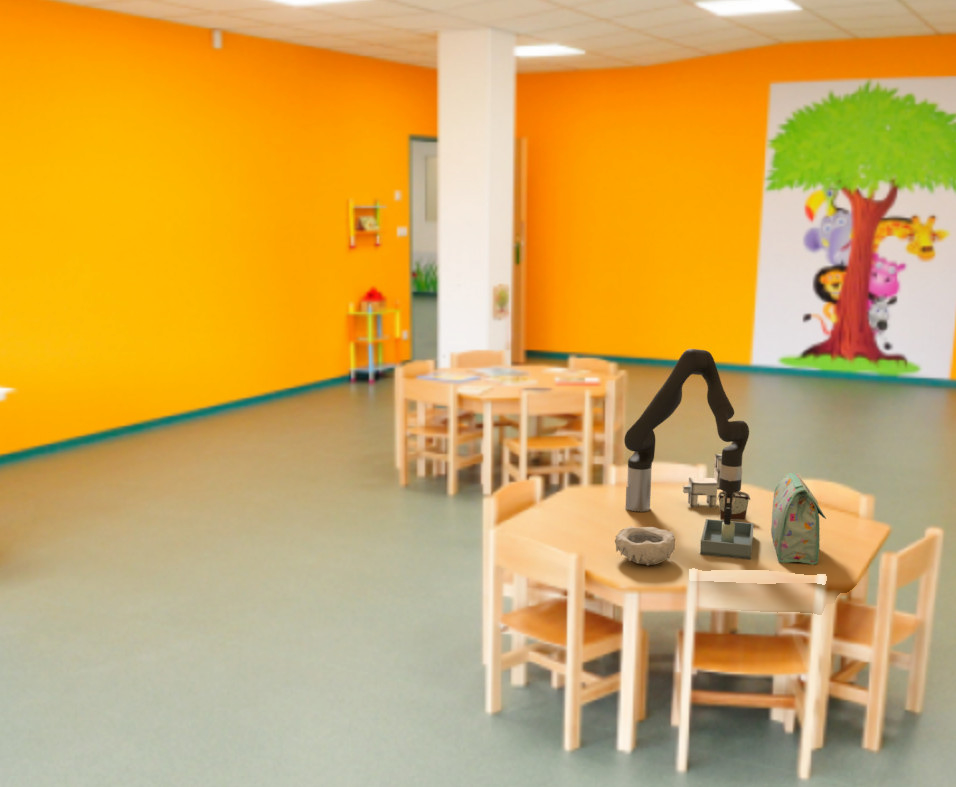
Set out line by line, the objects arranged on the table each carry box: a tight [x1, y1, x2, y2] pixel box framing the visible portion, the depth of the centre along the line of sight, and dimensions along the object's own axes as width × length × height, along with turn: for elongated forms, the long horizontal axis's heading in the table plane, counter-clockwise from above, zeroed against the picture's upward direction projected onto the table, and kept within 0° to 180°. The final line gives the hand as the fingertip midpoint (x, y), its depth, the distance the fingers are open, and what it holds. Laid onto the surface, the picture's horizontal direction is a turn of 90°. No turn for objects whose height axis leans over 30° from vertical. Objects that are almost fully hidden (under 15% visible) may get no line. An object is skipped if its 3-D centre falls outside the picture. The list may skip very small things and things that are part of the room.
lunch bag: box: [770, 472, 827, 566], centre depth 347 cm, size 23×16×27 cm
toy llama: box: [682, 453, 722, 508], centre depth 400 cm, size 8×18×20 cm, turn 88°
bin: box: [699, 518, 754, 560], centre depth 356 cm, size 17×24×5 cm
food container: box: [717, 490, 751, 521], centre depth 386 cm, size 12×6×10 cm, turn 84°
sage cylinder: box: [721, 522, 735, 543], centre depth 356 cm, size 4×4×7 cm
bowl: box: [614, 526, 676, 567], centre depth 341 cm, size 21×20×10 cm
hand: (727, 520), depth 355 cm, fingers open, 8 cm apart
